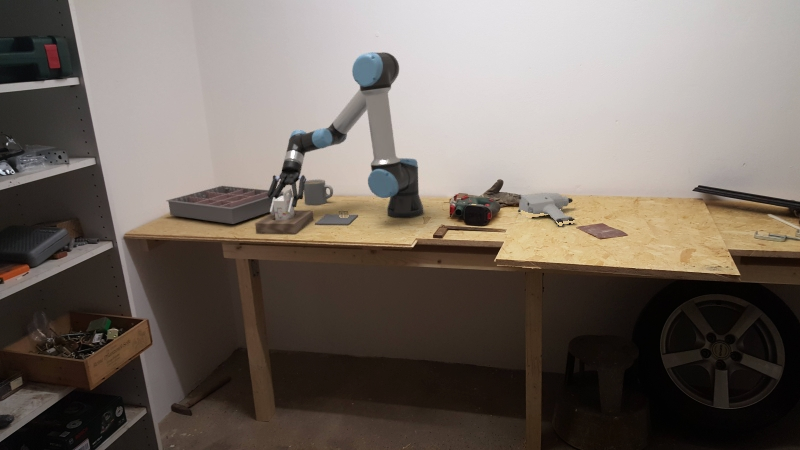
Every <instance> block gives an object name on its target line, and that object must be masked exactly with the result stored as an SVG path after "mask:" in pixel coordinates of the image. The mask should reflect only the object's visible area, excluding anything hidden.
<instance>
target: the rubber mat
mask: <svg viewBox="0 0 800 450" xmlns="http://www.w3.org/2000/svg"><path fill="white" fill-rule="evenodd" d="M339 214H340V213H338V214H337V213H336V214H334V213H333V214H330V213H329V214H328V213H327V214H325V215H324V216H322V217H321V218H319V220H317V221H316V222H314V225H315V226H349V225H351V224H352V223H353V222H354V221H355V220H356V219H357V218H358V217H359V214H348V215H349V217H348V218H340V217H339Z"/></svg>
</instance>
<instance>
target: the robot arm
mask: <svg viewBox="0 0 800 450" xmlns="http://www.w3.org/2000/svg"><path fill="white" fill-rule="evenodd" d="M351 72H352V73H351V74H352V77H353V79H354V81H355V82H356V84H358V85H359V89H358V90H357V92H356V93H355V94H354V95H353V97H352V98H351V99H350V101H348V103H347V104H346V105H345V107H344V108H343V109H342V110H341V111H340V112H339V114H338V115H337V116H336V118H335V119H334V120H333V122H332V123H331V124H330V125H329V126H328V127H325V128H319V129H316V130H313V131H309V132H307V131H304V130H299V129H295V130H293V131H292V132H291V134H290V137H289V139H288V144H287V148H286V152H285V155H284V159H283V164H282V167H281V173H279V175H275V174H274V175H273V176H272V181H271V184H270V187H269V189H268V190H269V191H268V194H267V196H268V197H269V199H271V201H270V206H271V208H270V212H269V214H272V215H274V213H275V211H274V203H273V201H274V200H275V199H277V197H278V196H279V194H280V193H281V192H283V189H285V188H286V187H287V186H291V191H292V196H293V198H291V200H290V205H289V209H288V213H289V214H290V215H292V213H293V209H294V210H295V208H296V207H297V204H298V200H303V199H304V183H305V181H307V178H306V176H305V174H302V175H301V173H302V168H303V164H304V159H305V154H306V153H309V152H312V151H317V150H321V149H324V148H328V147H331V146H336V145H340V144H342V143H344V142H345V141H346V140H347V136H348V133H349V132H350V130H351V129H352V128H353V127H354V126H355V125H356V123H358V121H359V120H360V119H361V117H363V115H365V112H367V120H368V125H369V132H370V139H371V147H372V155H373V160H372V161H371V162H370V169H371V172H370V174H369V175H368V177H367V185H368V188H369V190H370V191H371V193H372V194H374V195H375V196H376V197H378V198H381V199H387V198H389V201H388V204H387V209H386V211H387V216H389V217H391V218H401V219H403V218H407V219H408V218H415V217H419V216H422V215H423V214H424V213H425V212H424V206H423V203H422V199H421V197H420V194H419V191H420V190H419V166H418V165H419V164H418V161H417V159H415V158H402V157H401V158H400V157H398V156H397V154H396V147H395V138H394V131H393V124H392V115H391V108H390V99H389V92H390V91H391V89H392V85H393V84H394V82H395V81H396V80H397V78H398V76H399V73H400V65H399V61H398V60H397V58H396V57H395V56H394V55H393V54H391V53H389V52H385V51H384V52H367V53H363V54H361V55H358V57H357V58H356V59H355V61H354V62H353V65H352V70H351ZM298 181H299V182H298ZM297 182H298V187H297ZM297 188H298V190H297Z"/></svg>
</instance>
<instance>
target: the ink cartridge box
mask: <svg viewBox="0 0 800 450" xmlns="http://www.w3.org/2000/svg"><path fill="white" fill-rule="evenodd" d="M283 192H284V193H283V196H280V197H279V198H277V199H275V200H274V201H273V203H274V211H275V219H276V220H289V219H290V218H292V217H293V216H295V215H294V210H295V208H294V209H293V213H292V215H290V214H289V213H288V209H289V205H290V200H291V198H294V197H293V191H292V188H289V189H287V190H285V191H283Z"/></svg>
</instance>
